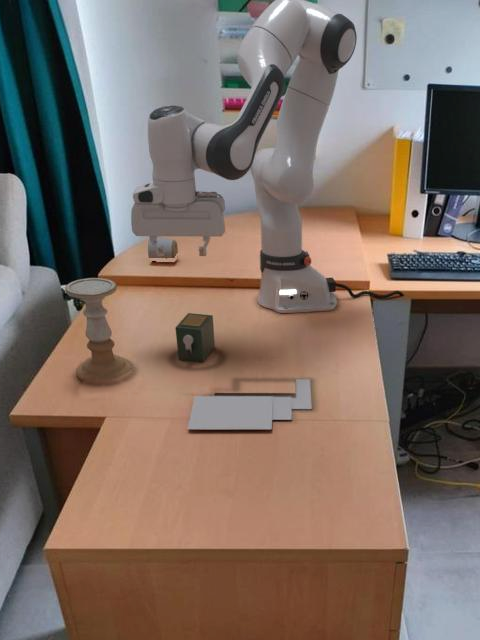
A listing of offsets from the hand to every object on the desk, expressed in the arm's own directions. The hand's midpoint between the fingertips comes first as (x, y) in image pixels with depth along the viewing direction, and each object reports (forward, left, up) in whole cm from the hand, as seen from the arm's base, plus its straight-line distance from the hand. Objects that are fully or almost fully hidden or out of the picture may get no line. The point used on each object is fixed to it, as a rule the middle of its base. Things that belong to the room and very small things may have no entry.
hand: (182, 255), depth 163 cm
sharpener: (-2, +7, -21) cm, 23 cm away
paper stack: (-16, +29, -23) cm, 40 cm away
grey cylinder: (+15, -66, -23) cm, 72 cm away
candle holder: (+18, +14, -23) cm, 32 cm away
